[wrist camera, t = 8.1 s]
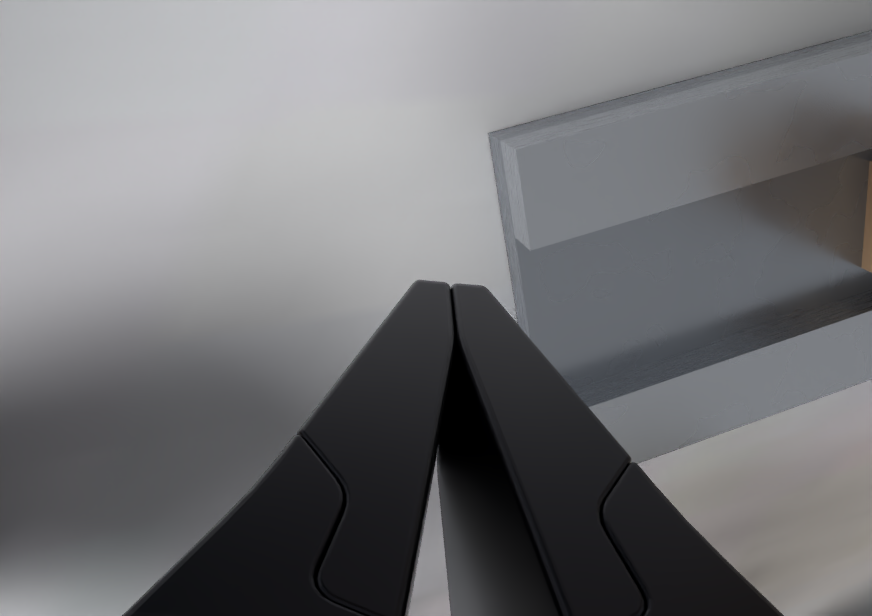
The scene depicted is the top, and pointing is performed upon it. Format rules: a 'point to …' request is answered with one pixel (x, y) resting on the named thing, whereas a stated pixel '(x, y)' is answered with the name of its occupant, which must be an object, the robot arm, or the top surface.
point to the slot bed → (698, 244)
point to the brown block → (868, 227)
